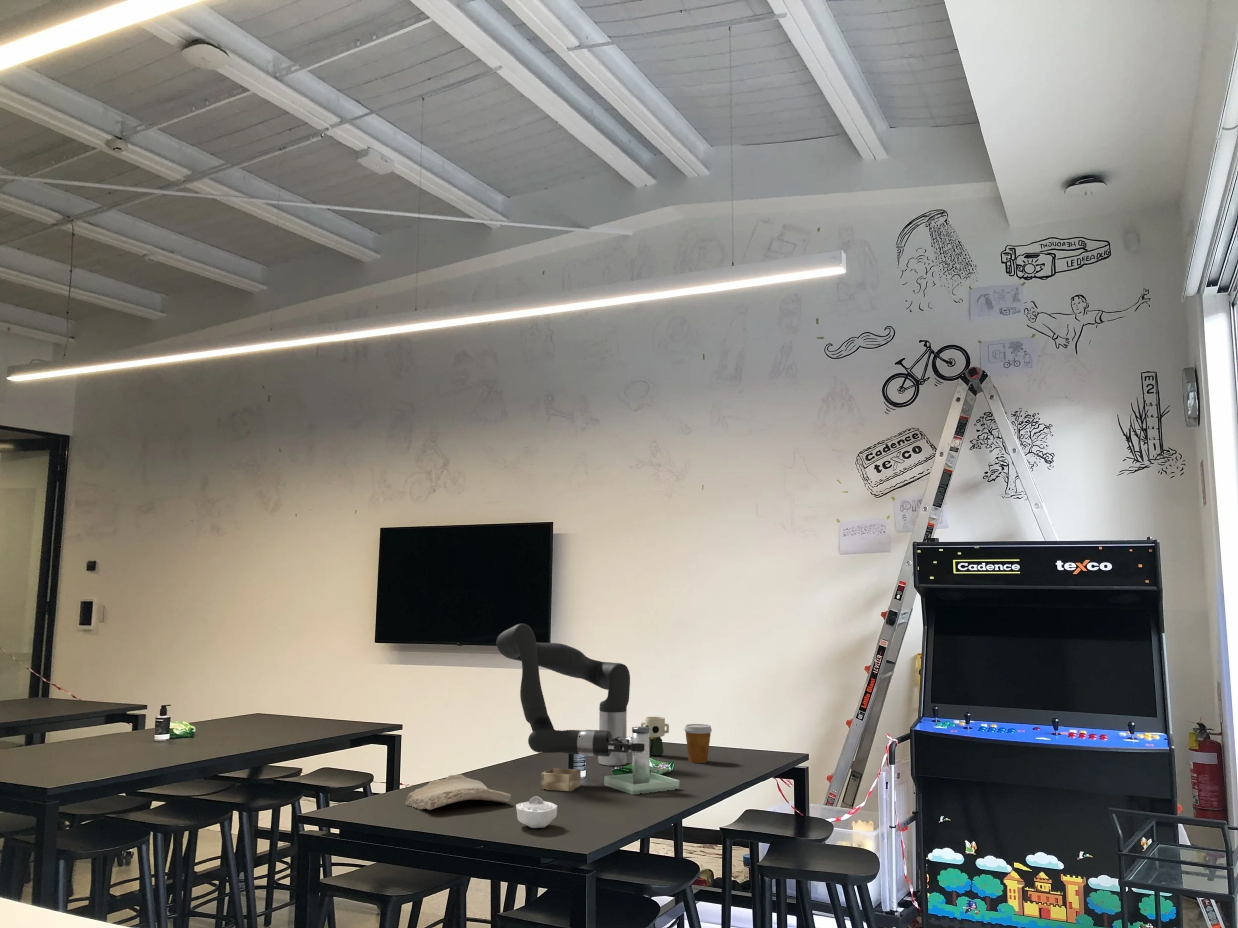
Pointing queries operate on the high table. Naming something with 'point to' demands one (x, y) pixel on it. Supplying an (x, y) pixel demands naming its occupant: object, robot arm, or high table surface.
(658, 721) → the character mug
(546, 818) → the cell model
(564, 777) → the holder
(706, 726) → the disposable coffee cup
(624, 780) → the tray
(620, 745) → the robot arm
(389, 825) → the high table surface
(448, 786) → the beige pottery shard
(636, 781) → the canister
